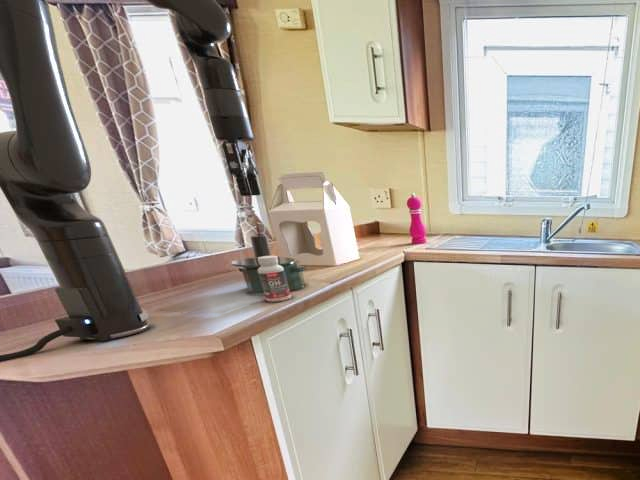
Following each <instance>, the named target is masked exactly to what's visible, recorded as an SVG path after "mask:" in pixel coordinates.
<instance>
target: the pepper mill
mask: <svg viewBox="0 0 640 480" xmlns="http://www.w3.org/2000/svg"><path fill="white" fill-rule="evenodd" d="M406 206H407V208H408V209H409V210H408V212H409V215H410V225H409V231H408V232H409V236H410V237H411V244H413V245H421V244H426V243H427V238H426V235H427V230H426V227H425V225H424V223H423V220H422V216H421V214H422V210H421V207H422V202H421V199H420V198H418V197H416V194H415V193H414V192H412V193H410V197H409V198H408V199H407V200H406Z"/></svg>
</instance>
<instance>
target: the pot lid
mask: <svg viewBox="0 0 640 480" xmlns="http://www.w3.org/2000/svg"><path fill="white" fill-rule="evenodd" d="M249 237H250V241H251V246H252V250H253V255H254V257H248V258H240V259H236V260H233V261H231V262H230V265H231V266H233V267H237V268H240V267H243V268H249V269H258V268H260V267H261V265H260V264H259V263H258V259H257V258H258V257H263V256H272V254H271V248H270V244H269V238H268V236H267V235H264V234H263V235H259V234H258V235H257V234H256V235H250V236H249ZM277 258H278V265H280V266H286V265H289V264H293V263H295V259H292V258H285V257H281V256H277Z"/></svg>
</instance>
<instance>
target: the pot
mask: <svg viewBox="0 0 640 480" xmlns="http://www.w3.org/2000/svg"><path fill="white" fill-rule="evenodd" d="M282 267H283V268H284V272H285V275H286V279H287V283H288V286H289V290H290V293H292V292H295V291H299V290H301V289H303V288H305V287H306V282H305V277H304V274H303V273H304V272H306V271H307V267H306V265H300V262H299V261H298V260H295V263H293V264H289V265H286V266H282ZM238 271H239V272H240V273H242V274H243V279H244V281H245V285H246V287H247V291H248V292H249V293H251V294H264V291H263V288H262V284H261V281H260V278H259V275H258V269H249V268H243V267H238Z"/></svg>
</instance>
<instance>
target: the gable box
mask: <svg viewBox="0 0 640 480" xmlns="http://www.w3.org/2000/svg"><path fill="white" fill-rule="evenodd" d="M278 180H279V182H280V184H279V185H277V186H276V187H277V188H276V190H275V194H274V196H273V199H272V201H271V204H270V208H269V210H268V213H269V217H270V220H271V223H272V227H273V231H274V235H275V238H276V242H277V245H278V250H279V253H280V257H285V258H292V259H295V260H298V261H299V262H300V266H308V267H309V266H311V267H312V266H314V267H316V266H319V267H337V266H341V265H344V264H347V263H350V262H354V261H358V260H360V253H359V248H358V243H357V237H356V233H355V228H354V227H355V226H354V223H353V218H352V213H351V207H350V205H349V204H348V203H347V201H346V200H345V199H344V198H343V197H342V195H341V194H340V193H339V192H338V190H337V189H336V188H335V186H334V185H333V182H329V181H327V180H326V177H325V174H324V173H323V172H322V171H313V172H312V171H311V172H298V173H295V172H294V173H283V174H281V176H280V177H279V178H278ZM306 189H307V190H309V189H322V198H323V199H322V200H311V201H310V200H309V201H307V200H306V201H295V199H294V197H293V196H292V193H291V190H306ZM309 222H316V223H318V224H319V226H320V246H321V248H318V247H317V246H316V242H315V241H316V239H315V236H314V234H313V232H312V230H311V227H310V226H309V224H308V223H309Z"/></svg>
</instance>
